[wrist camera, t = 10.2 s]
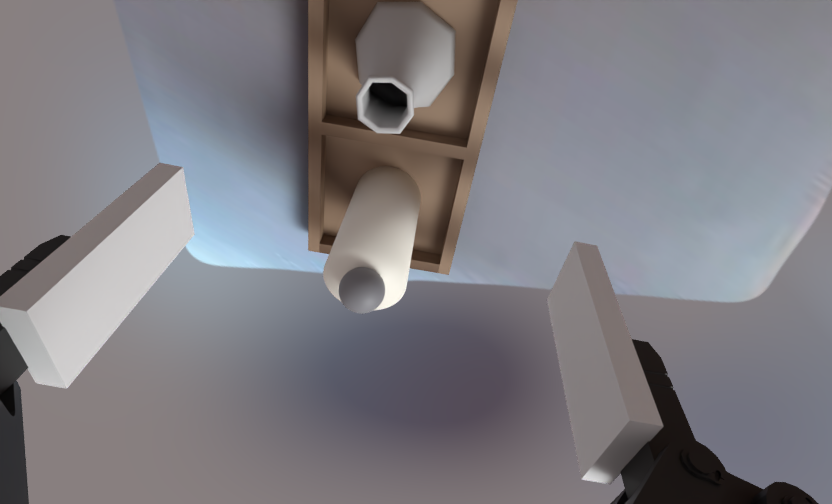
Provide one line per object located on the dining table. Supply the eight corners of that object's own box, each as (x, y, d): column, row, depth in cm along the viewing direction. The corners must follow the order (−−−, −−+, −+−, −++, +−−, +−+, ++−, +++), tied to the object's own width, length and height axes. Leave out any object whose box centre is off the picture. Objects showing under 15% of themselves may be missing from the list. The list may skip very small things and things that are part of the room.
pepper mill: (358, 160, 37) (313, 264, 27) (425, 172, 37) (407, 280, 27) (354, 217, 41) (312, 329, 30) (415, 228, 41) (396, 343, 30)
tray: (318, -69, 29) (308, -67, 27) (521, -32, 29) (524, -27, 27) (315, 235, 43) (308, 250, 42) (449, 259, 44) (448, 274, 42)
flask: (437, 120, 35) (427, 184, 27) (345, 88, 34) (307, 145, 26) (473, 20, 30) (474, 61, 22) (368, -20, 29) (330, 9, 22)
